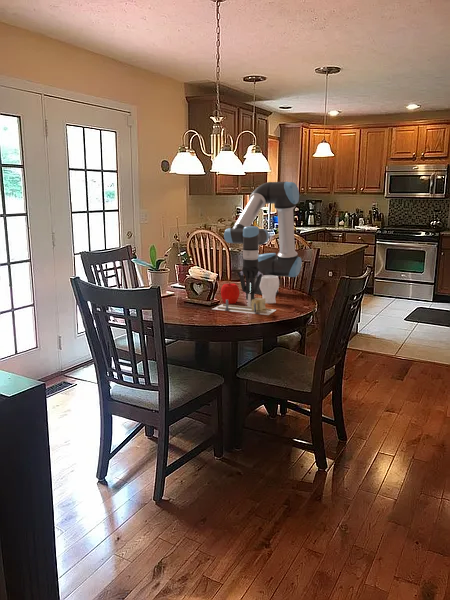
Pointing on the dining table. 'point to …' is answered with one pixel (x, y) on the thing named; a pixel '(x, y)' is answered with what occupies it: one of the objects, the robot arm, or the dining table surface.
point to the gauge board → (242, 309)
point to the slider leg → (258, 304)
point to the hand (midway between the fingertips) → (250, 306)
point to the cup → (269, 287)
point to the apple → (230, 293)
